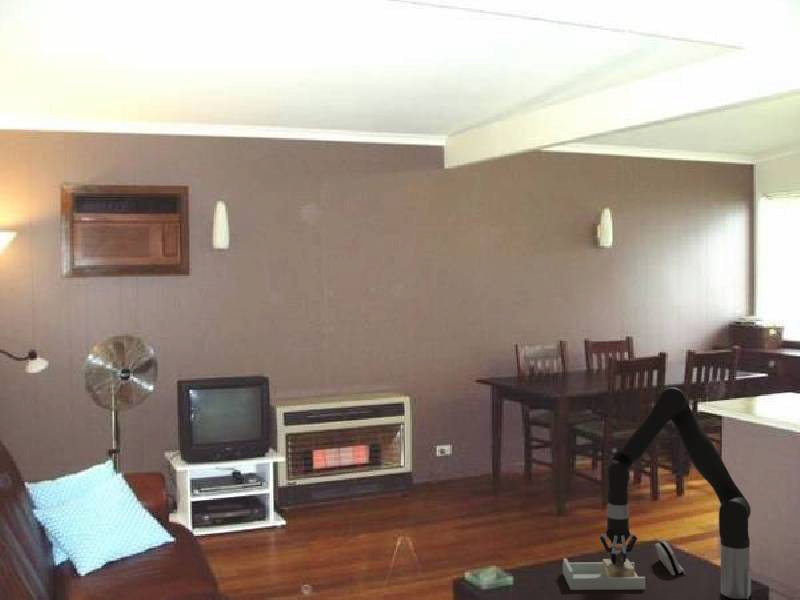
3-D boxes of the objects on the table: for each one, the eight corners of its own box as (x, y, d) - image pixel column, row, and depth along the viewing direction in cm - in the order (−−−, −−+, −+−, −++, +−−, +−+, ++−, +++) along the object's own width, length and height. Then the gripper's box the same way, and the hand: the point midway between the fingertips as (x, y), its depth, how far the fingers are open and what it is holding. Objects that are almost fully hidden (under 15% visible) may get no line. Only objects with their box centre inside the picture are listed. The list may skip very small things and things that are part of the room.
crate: (627, 572, 304) (627, 547, 303) (634, 582, 294) (634, 557, 293) (602, 572, 304) (602, 548, 304) (608, 582, 294) (608, 557, 294)
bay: (633, 572, 307) (633, 556, 307) (645, 589, 291) (645, 572, 291) (562, 573, 307) (562, 557, 307) (570, 589, 292) (570, 572, 291)
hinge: (686, 575, 304) (676, 549, 303) (673, 579, 304) (664, 554, 304) (673, 559, 320) (664, 535, 320) (661, 563, 320) (652, 539, 320)
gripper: (634, 512, 302) (635, 559, 302) (596, 512, 302) (596, 559, 303) (640, 518, 294) (640, 566, 295) (600, 518, 295) (600, 566, 295)
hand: (618, 562), depth 299 cm, fingers closed on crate, 2 cm apart
